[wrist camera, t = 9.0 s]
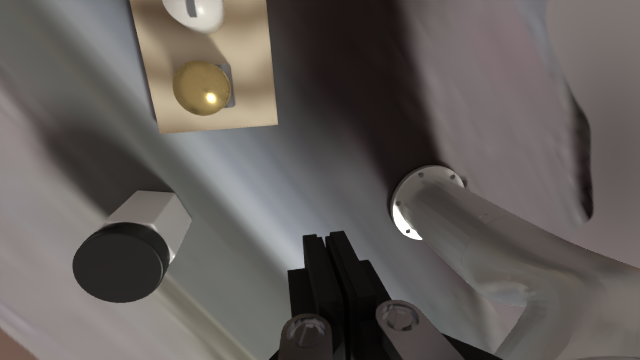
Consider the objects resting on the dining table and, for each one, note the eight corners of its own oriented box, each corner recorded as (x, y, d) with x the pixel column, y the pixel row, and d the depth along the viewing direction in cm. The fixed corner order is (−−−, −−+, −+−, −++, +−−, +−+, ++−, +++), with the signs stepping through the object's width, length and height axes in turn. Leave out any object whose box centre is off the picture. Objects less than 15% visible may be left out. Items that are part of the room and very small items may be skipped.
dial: (172, -17, 31) (152, -40, 25) (221, -17, 32) (213, -39, 26) (182, 35, 33) (165, 25, 27) (228, 34, 34) (222, 24, 28)
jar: (145, 175, 39) (99, 214, 27) (202, 207, 41) (181, 255, 30) (109, 227, 40) (51, 285, 29) (167, 255, 43) (134, 318, 31)
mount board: (105, -137, 29) (68, -189, 23) (252, -128, 31) (251, -173, 26) (164, 131, 37) (148, 140, 32) (276, 122, 40) (280, 129, 34)
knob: (188, 65, 34) (167, 61, 26) (231, 63, 34) (224, 59, 27) (196, 109, 35) (178, 117, 27) (237, 106, 36) (232, 113, 28)
